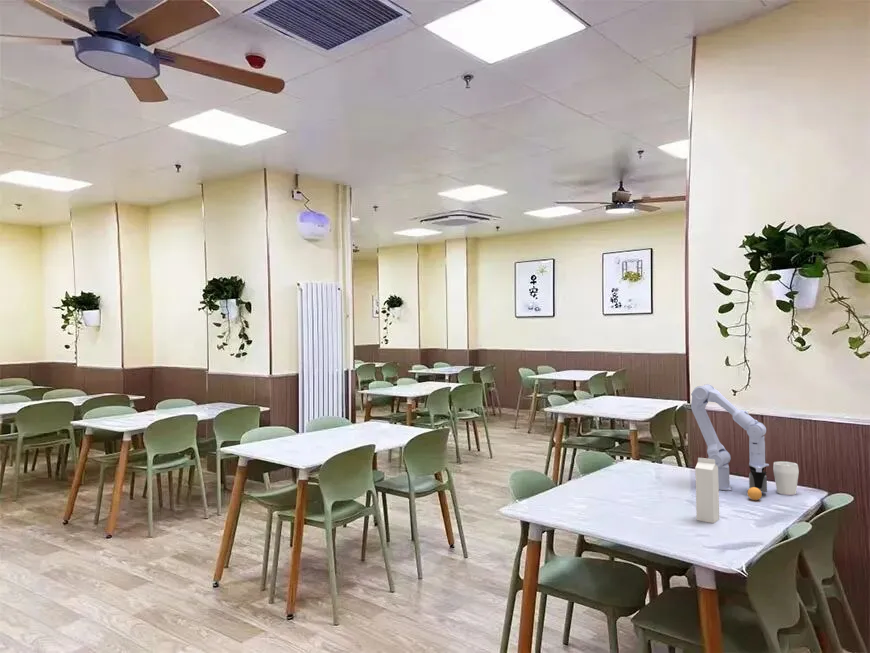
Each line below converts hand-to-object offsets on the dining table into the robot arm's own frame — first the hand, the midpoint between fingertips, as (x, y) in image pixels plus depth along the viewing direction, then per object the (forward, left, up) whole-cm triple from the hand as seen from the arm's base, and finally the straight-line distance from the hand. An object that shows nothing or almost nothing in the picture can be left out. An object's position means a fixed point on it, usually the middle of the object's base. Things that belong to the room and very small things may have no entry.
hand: (757, 485), depth 247 cm
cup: (+11, +5, -3) cm, 12 cm away
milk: (-19, -42, -3) cm, 46 cm away
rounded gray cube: (0, 0, -2) cm, 2 cm away
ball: (-2, -10, -1) cm, 10 cm away
